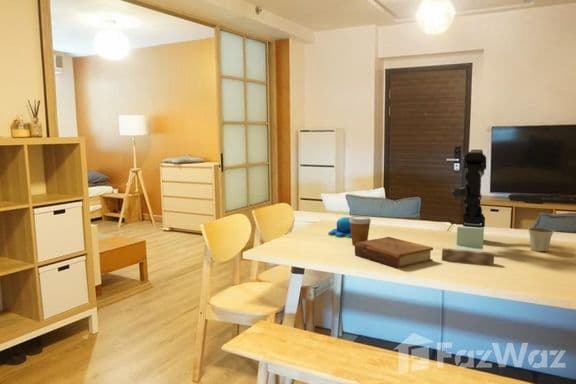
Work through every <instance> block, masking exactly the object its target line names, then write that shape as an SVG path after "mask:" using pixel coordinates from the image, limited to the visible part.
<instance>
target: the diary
mask: <svg viewBox="0 0 576 384" xmlns="http://www.w3.org/2000/svg"><path fill="white" fill-rule="evenodd" d="M431 251H434V247H432V246H427V245H424V244H419V243H415V242H413V241H412V242H411V241H407V240H403V239H399V238H394V237H391V236H385V237H380V238H375V239H369V240H368V241H362V242H356V244H355V246H354V255H355V256H357V257H361V258H364V259H367V260H371V261H374V262H377V263H380V264H384V265H386V266H389V267H392V268H395V269H403V268H408V267H411V266H416V265H422V264H425V263H429V262H433V261H434V259H431Z"/></svg>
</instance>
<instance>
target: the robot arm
mask: <svg viewBox="0 0 576 384" xmlns="http://www.w3.org/2000/svg"><path fill="white" fill-rule="evenodd" d="M463 168H464V169H467V170H466V173H465V175H464V177H465V180H466V181H465V182H466V183H465V185H464V187H463V186H462V187H460V188H459V187H456V188H454V190H452V191H451V194H452V197H453V199H458V198H459V197H463V196H464V199H463V204H465V205H466V206H465V209H464V212H463V214H462V226H464V227H479V228H486V227H485V226H486V216H484V213H483V208H482V206H481V201H482V196H483V195H482V194H481V193H482V191H481V190H482V177H483V176H484V175H485V170H487V156H486V155H485V154H484V152H483V149H471V150H470V151H467V152H466V154H464V164H463Z"/></svg>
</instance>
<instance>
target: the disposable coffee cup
mask: <svg viewBox="0 0 576 384" xmlns="http://www.w3.org/2000/svg"><path fill="white" fill-rule="evenodd" d="M349 222H350V228H351V237H352V238H351V243H352V244H351V245H352V246H354V247H355V244H356V242H362V241H368V239H369V233H370V232H369V231H370V225H371V222H372V220H371V217H369V216H368V215H367V216H365V215H353V216H352V215H351V216H350V220H349Z"/></svg>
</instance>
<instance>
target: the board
mask: <svg viewBox="0 0 576 384" xmlns="http://www.w3.org/2000/svg"><path fill="white" fill-rule="evenodd" d="M441 261H447V262H459V263H469V264H479V265H488V266H494V265H495V264H494V263H495V262H494V261H495V252H491V251H490V252H489V251H483V252H479V251H468V250H457V249H456V248H454V249H453V248H444V247H443V248H442V249H441Z"/></svg>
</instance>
